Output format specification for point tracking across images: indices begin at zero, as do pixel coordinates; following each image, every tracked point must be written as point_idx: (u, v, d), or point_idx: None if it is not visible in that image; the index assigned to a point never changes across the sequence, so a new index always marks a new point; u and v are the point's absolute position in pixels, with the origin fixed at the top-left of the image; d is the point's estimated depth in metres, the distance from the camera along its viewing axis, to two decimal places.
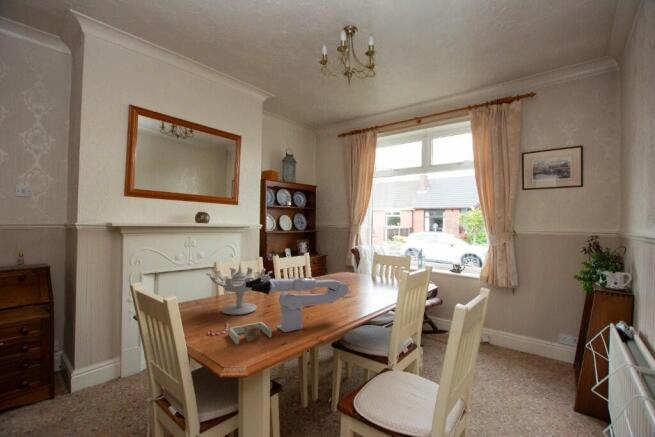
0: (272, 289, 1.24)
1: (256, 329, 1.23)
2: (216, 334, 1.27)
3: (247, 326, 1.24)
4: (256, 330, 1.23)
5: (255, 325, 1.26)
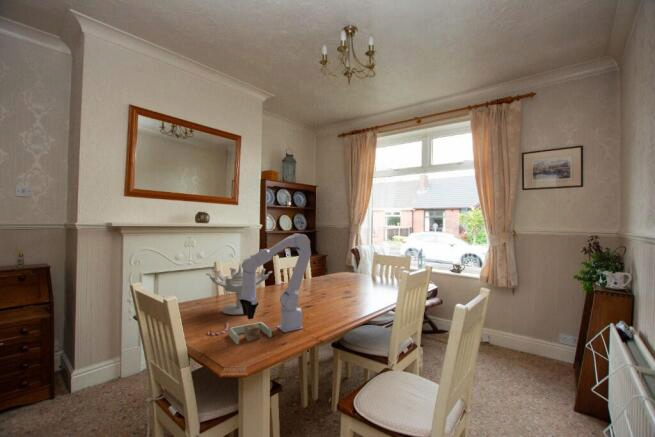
0: (255, 303, 1.23)
1: (256, 329, 1.23)
2: (216, 334, 1.27)
3: (247, 326, 1.24)
4: (256, 330, 1.23)
5: (255, 325, 1.26)
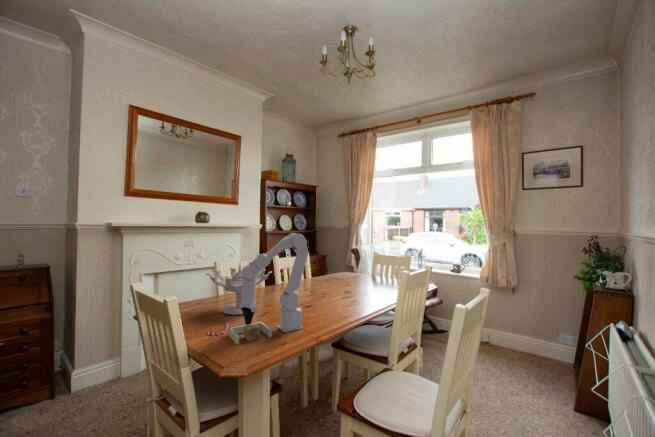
0: (254, 310, 1.23)
1: (256, 329, 1.23)
2: (216, 334, 1.27)
3: (247, 326, 1.24)
4: (256, 330, 1.23)
5: (255, 325, 1.26)
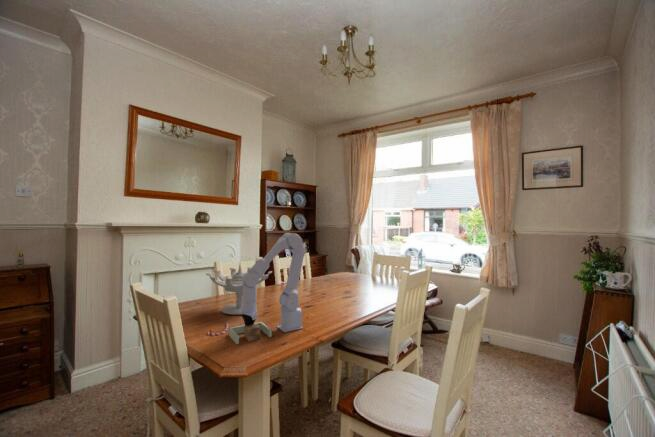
0: (255, 318, 1.22)
1: (256, 329, 1.23)
2: (216, 334, 1.27)
3: (247, 326, 1.24)
4: (256, 330, 1.23)
5: (255, 325, 1.25)
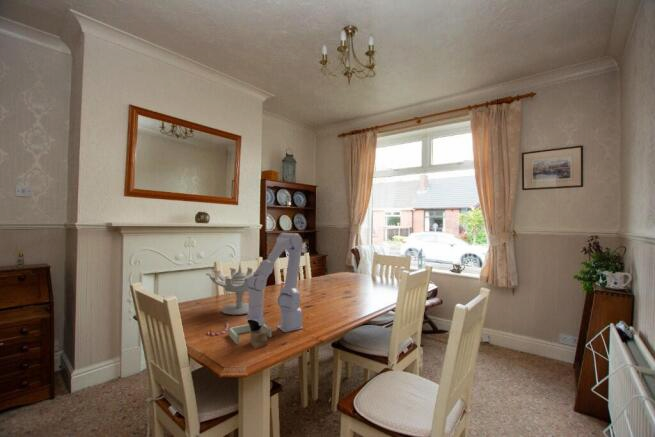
0: (262, 323, 1.15)
1: (263, 335, 1.16)
2: (216, 334, 1.27)
3: (253, 332, 1.18)
4: (263, 336, 1.16)
5: (262, 331, 1.19)
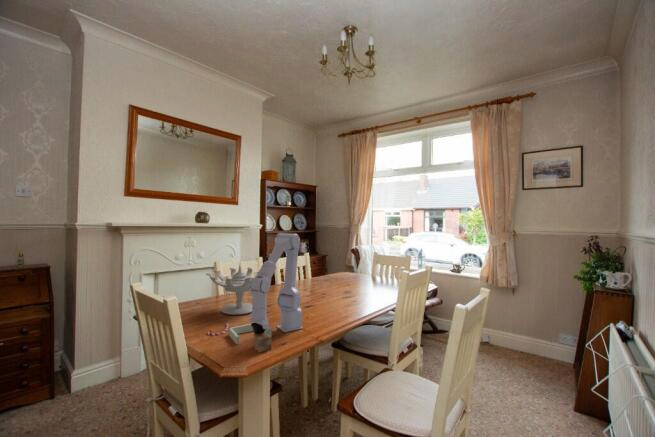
0: (266, 327, 1.12)
1: (267, 339, 1.13)
2: (216, 334, 1.27)
3: (257, 335, 1.14)
4: (267, 340, 1.13)
5: (266, 334, 1.16)
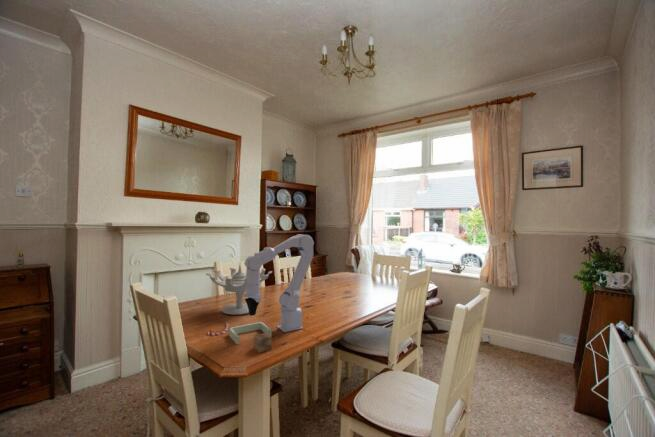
0: (259, 300, 1.22)
1: (267, 339, 1.13)
2: (216, 334, 1.27)
3: (257, 336, 1.14)
4: (267, 340, 1.13)
5: (266, 334, 1.16)
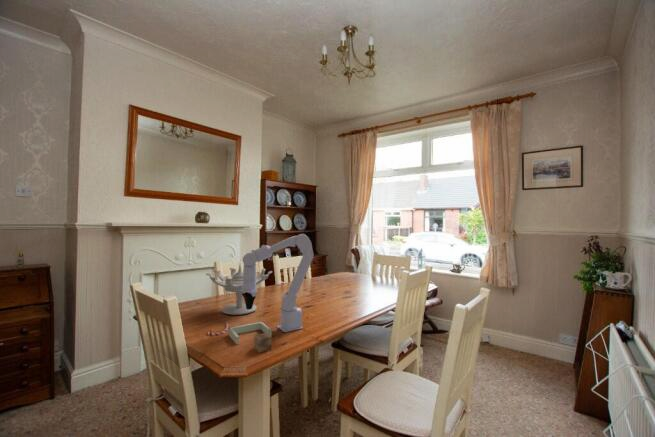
0: (255, 295, 1.28)
1: (267, 339, 1.13)
2: (216, 334, 1.27)
3: (257, 336, 1.14)
4: (267, 340, 1.13)
5: (266, 334, 1.16)
